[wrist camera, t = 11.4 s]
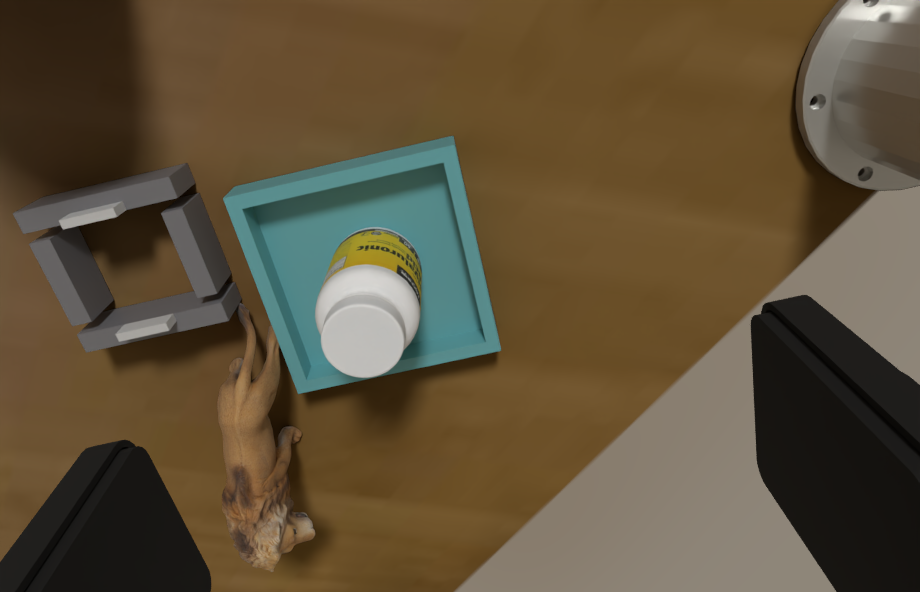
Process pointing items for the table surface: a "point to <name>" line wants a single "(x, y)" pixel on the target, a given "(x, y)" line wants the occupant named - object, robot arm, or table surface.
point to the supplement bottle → (369, 302)
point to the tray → (348, 210)
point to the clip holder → (84, 282)
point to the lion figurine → (258, 459)
